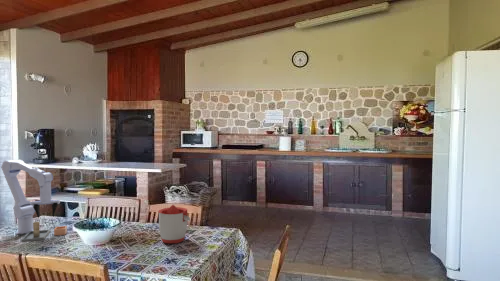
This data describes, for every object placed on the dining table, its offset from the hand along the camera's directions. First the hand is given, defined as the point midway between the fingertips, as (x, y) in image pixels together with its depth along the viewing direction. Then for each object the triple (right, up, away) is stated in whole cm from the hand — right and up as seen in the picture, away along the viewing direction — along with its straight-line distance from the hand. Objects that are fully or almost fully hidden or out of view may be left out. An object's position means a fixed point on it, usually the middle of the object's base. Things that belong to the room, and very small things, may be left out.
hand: (46, 216), depth 210 cm
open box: (+9, -10, 0) cm, 13 cm away
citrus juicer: (+77, -11, -11) cm, 79 cm away
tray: (-2, -11, -6) cm, 12 cm away
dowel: (-2, -10, -6) cm, 12 cm away
